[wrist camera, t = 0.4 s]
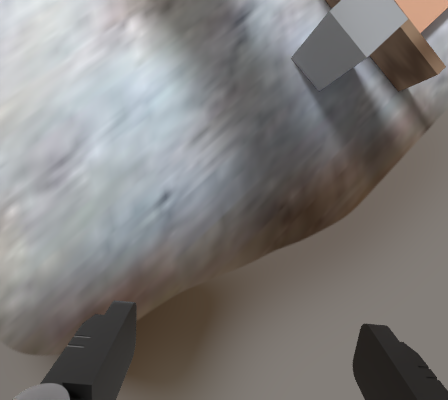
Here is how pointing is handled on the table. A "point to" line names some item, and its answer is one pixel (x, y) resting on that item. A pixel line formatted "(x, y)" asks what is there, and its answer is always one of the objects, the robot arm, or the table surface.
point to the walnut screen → (405, 56)
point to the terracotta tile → (422, 11)
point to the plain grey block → (346, 38)
